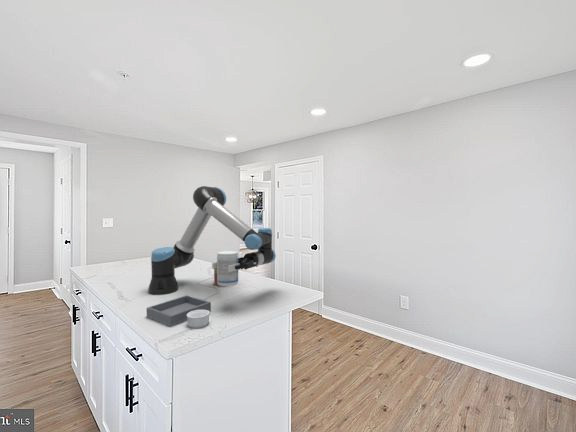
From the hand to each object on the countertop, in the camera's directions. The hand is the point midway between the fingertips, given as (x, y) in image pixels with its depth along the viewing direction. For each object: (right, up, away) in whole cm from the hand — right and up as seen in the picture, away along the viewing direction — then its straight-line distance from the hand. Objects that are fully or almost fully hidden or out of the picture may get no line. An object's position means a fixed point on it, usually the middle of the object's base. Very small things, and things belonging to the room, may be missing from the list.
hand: (220, 267), depth 125 cm
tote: (-17, -20, -3) cm, 26 cm away
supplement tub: (+2, -9, +4) cm, 10 cm away
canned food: (-9, -18, +44) cm, 48 cm away
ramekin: (-6, -20, -13) cm, 25 cm away
